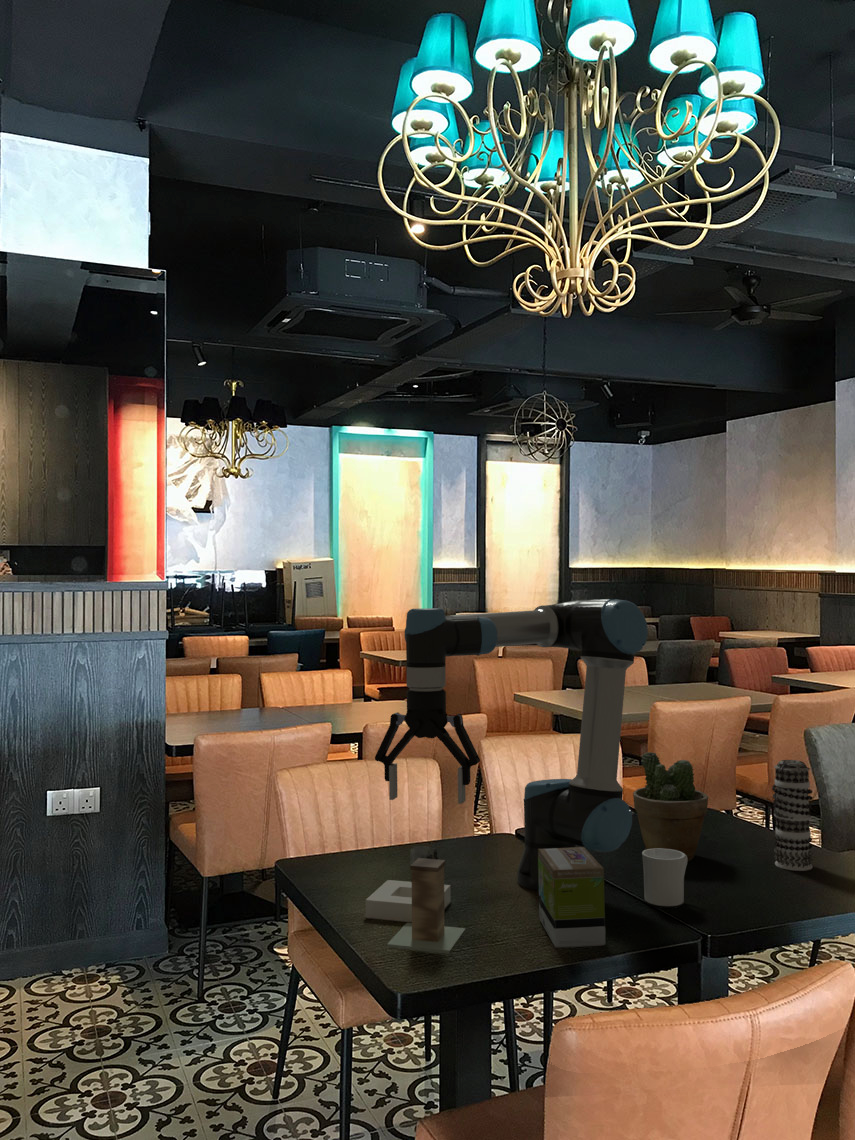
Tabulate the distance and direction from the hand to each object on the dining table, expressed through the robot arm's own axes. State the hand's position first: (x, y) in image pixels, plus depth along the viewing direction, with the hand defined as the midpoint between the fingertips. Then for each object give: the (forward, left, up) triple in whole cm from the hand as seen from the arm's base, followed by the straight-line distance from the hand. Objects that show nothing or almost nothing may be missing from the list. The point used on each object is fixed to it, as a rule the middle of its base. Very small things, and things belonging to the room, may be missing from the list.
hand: (427, 800), depth 179 cm
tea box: (-26, -10, -26) cm, 38 cm away
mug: (-43, -35, -26) cm, 61 cm away
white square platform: (+8, -14, -26) cm, 31 cm away
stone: (+10, -32, -26) cm, 42 cm away
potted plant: (-43, -72, -26) cm, 87 cm away
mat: (0, 0, -26) cm, 26 cm away
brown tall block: (0, 0, -26) cm, 26 cm away
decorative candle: (-71, -70, -26) cm, 104 cm away
